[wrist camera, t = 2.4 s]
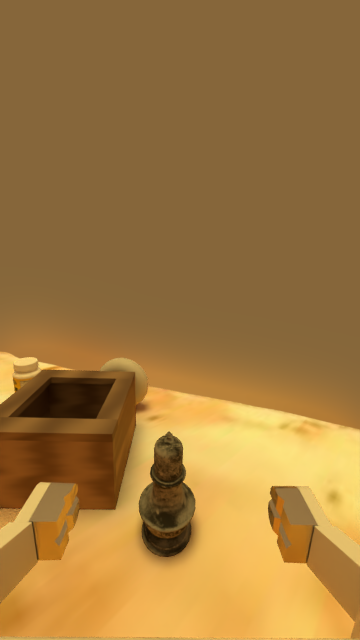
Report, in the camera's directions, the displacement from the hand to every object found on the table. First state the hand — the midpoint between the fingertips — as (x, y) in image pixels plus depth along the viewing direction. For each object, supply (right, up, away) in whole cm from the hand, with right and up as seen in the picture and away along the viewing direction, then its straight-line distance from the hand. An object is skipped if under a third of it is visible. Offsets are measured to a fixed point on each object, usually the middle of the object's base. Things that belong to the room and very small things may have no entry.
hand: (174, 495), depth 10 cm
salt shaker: (-1, -15, +16) cm, 22 cm away
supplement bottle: (-30, -9, +39) cm, 50 cm away
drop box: (-15, -12, +25) cm, 32 cm away
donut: (-11, -10, +38) cm, 41 cm away
